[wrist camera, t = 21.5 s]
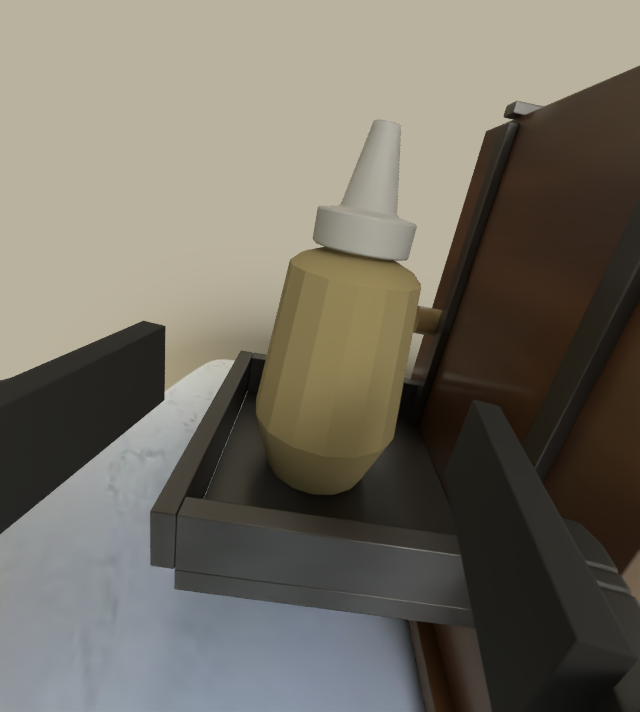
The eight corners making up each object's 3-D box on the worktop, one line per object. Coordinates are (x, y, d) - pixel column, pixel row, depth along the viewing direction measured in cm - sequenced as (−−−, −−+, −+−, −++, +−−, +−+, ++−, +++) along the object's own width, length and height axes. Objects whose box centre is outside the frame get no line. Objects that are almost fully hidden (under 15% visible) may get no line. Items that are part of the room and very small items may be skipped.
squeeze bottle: (353, 541, 18) (483, 102, 11) (218, 471, 20) (252, 83, 13) (394, 454, 25) (489, 154, 18) (290, 410, 27) (336, 134, 20)
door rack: (117, 756, 15) (12, -583, 4) (237, 435, 35) (276, 76, 24) (574, 804, 16) (1525, -132, 5) (435, 466, 36) (559, 135, 25)
